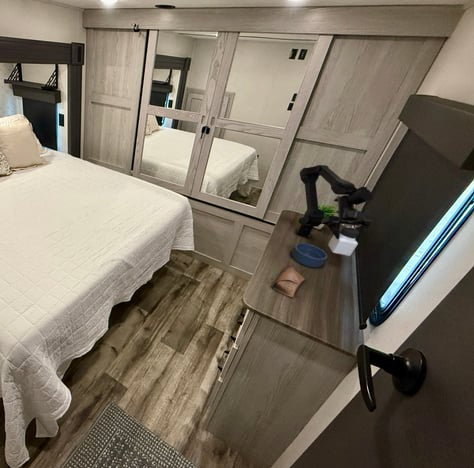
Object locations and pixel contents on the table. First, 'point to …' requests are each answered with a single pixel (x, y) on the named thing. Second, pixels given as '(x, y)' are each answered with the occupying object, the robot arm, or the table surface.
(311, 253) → the blue round bowl
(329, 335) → the table surface
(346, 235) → the medicine bottle
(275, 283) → the sunglasses case
